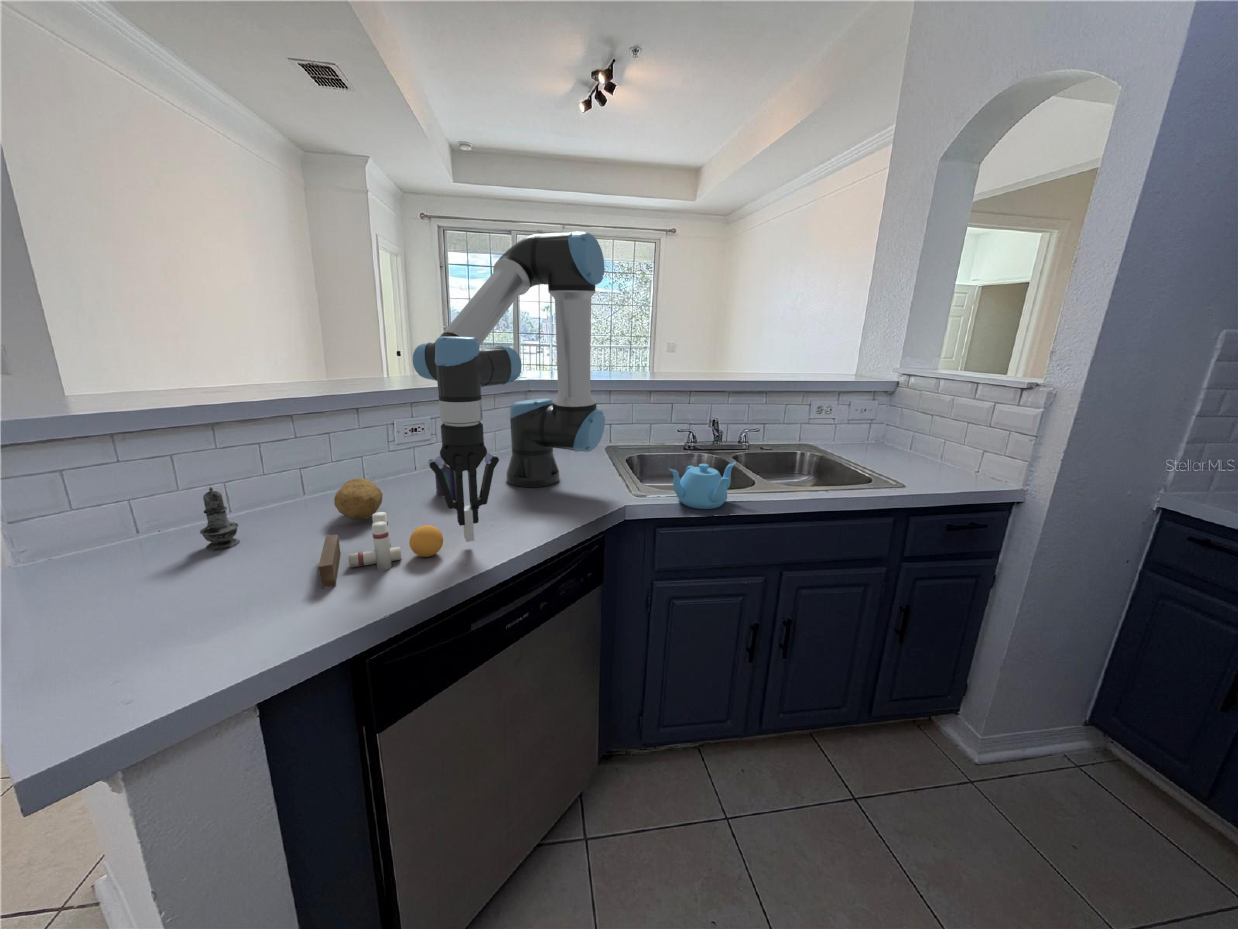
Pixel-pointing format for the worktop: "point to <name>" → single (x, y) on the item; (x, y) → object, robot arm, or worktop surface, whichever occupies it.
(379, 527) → the pin
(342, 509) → the potato
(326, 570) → the brown long rectangular block
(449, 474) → the flask
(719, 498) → the teapot
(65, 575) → the worktop surface
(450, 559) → the worktop surface
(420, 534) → the ball
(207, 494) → the salt shaker
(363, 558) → the front pin
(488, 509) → the worktop surface
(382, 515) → the pin
